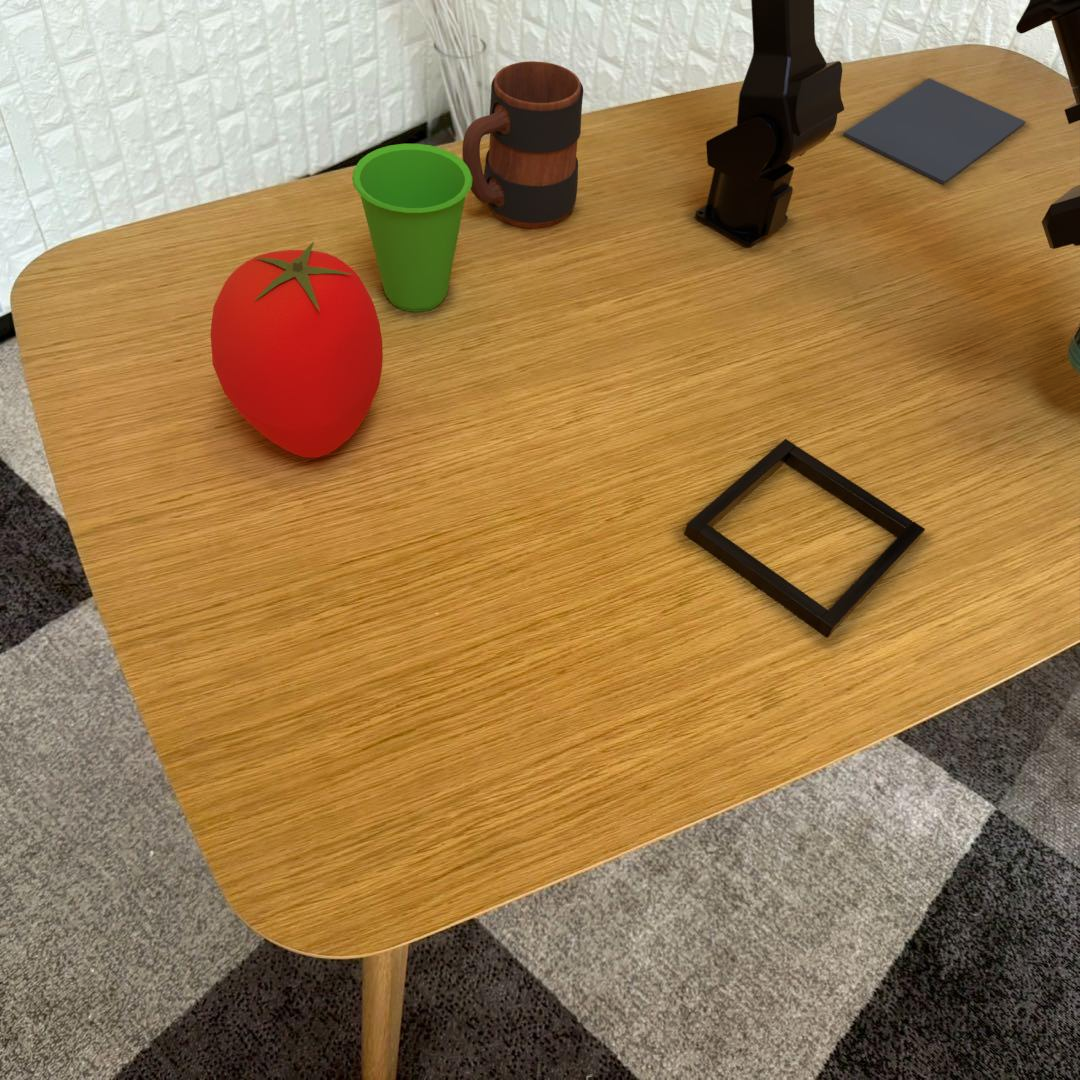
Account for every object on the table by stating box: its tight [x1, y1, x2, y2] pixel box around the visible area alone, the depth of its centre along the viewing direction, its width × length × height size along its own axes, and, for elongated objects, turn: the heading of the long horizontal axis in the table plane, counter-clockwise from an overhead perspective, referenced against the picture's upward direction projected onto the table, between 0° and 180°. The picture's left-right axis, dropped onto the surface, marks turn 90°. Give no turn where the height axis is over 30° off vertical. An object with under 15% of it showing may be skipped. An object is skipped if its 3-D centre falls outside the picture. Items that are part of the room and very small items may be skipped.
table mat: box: [842, 77, 1026, 185], centre depth 109 cm, size 12×18×1 cm, turn 137°
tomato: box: [209, 241, 384, 458], centre depth 70 cm, size 13×11×14 cm
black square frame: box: [683, 438, 926, 638], centre depth 71 cm, size 12×12×1 cm
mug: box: [462, 60, 584, 229], centre depth 89 cm, size 9×12×12 cm
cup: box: [351, 143, 472, 313], centre depth 81 cm, size 9×9×11 cm
